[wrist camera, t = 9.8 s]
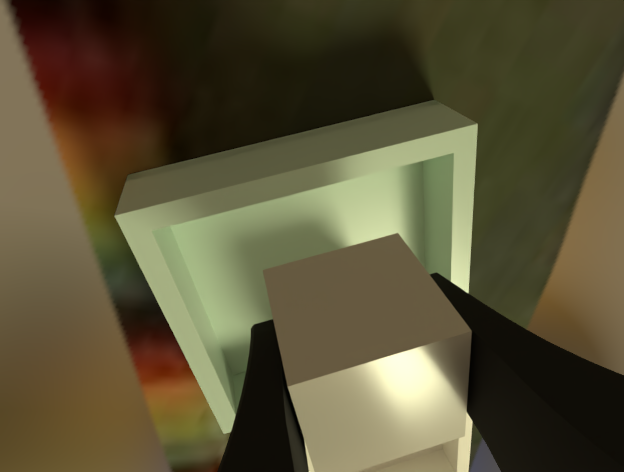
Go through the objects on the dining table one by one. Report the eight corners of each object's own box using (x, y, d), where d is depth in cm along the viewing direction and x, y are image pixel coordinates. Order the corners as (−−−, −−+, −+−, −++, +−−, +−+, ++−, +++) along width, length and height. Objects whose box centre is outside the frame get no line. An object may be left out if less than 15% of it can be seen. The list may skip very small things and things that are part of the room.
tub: (220, 380, 22) (223, 433, 19) (127, 174, 15) (114, 215, 13) (435, 316, 23) (464, 359, 20) (434, 99, 16) (477, 123, 14)
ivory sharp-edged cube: (290, 363, 14) (318, 484, 11) (262, 269, 12) (287, 386, 9) (403, 329, 15) (464, 436, 11) (398, 232, 12) (472, 330, 9)
